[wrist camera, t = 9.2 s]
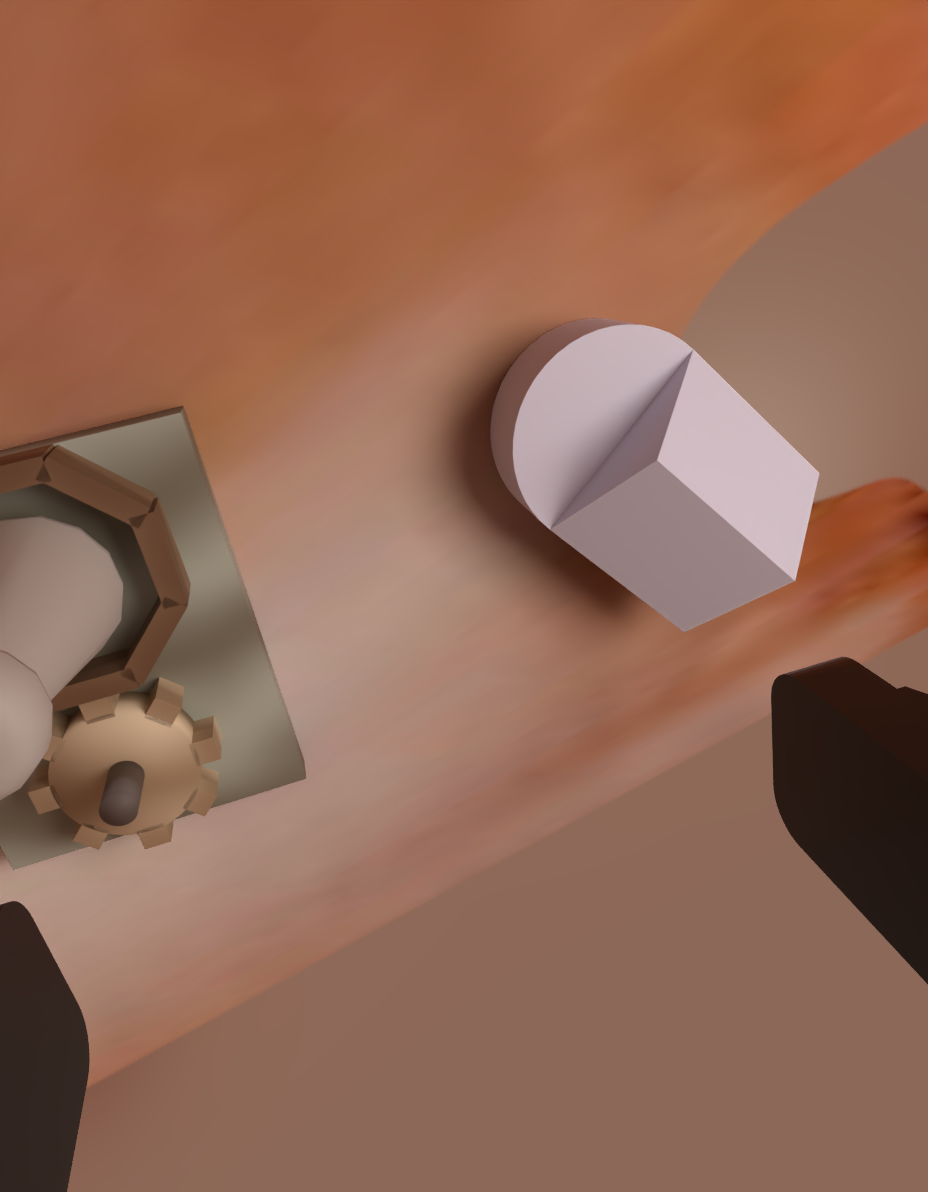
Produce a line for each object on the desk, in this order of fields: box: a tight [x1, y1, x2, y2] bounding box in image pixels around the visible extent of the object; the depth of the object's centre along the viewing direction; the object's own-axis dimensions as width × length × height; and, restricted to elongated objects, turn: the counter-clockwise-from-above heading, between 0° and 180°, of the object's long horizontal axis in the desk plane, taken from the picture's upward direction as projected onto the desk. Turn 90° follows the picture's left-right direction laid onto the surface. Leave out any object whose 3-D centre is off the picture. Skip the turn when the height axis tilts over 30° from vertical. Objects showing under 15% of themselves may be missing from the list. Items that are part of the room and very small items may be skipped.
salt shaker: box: [0, 516, 123, 800], centre depth 26 cm, size 6×6×13 cm
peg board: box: [0, 406, 306, 870], centre depth 33 cm, size 17×13×6 cm
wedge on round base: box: [490, 318, 819, 632], centre depth 35 cm, size 9×7×13 cm
